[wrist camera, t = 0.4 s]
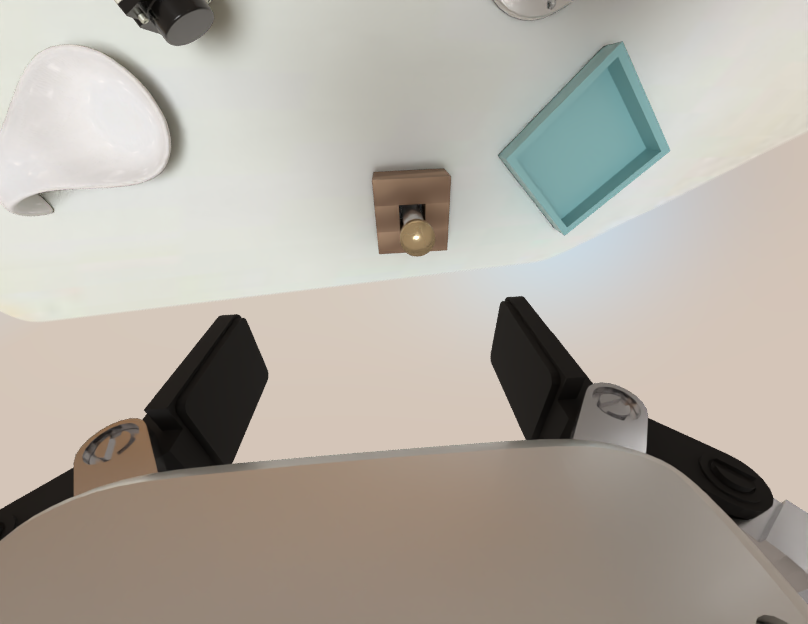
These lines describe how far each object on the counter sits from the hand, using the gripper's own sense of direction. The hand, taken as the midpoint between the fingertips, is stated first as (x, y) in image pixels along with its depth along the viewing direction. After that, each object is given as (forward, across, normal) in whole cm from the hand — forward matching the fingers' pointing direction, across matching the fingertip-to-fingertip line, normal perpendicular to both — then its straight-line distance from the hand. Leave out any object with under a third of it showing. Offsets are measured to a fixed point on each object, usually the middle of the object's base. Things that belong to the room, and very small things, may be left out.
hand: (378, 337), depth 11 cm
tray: (+32, -25, -2) cm, 40 cm away
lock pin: (+32, -4, +4) cm, 32 cm away
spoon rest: (+33, +33, -5) cm, 47 cm away
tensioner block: (+32, -4, +4) cm, 32 cm away
